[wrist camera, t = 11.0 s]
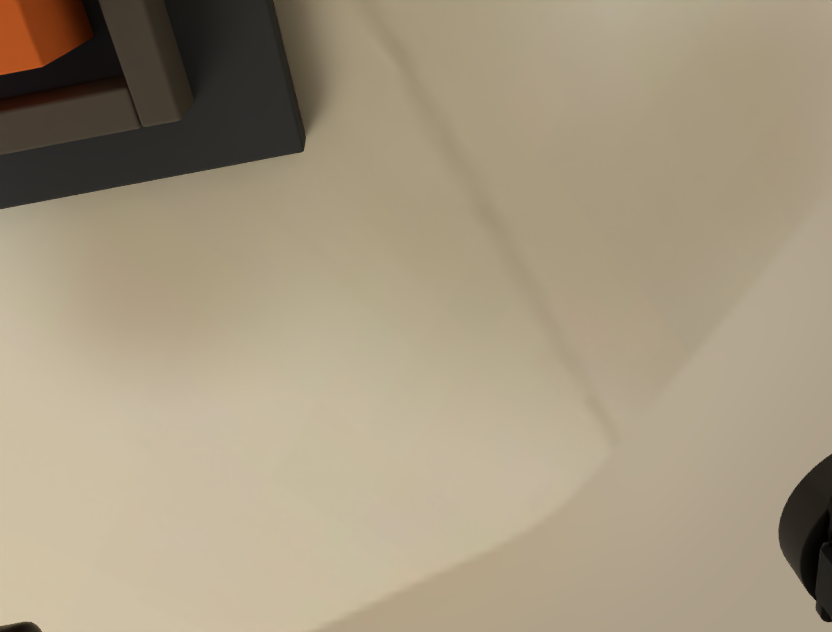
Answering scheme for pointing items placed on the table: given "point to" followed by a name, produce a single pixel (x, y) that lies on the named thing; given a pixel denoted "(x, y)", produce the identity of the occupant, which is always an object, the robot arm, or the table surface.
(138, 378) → the table surface
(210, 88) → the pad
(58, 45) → the orange block
